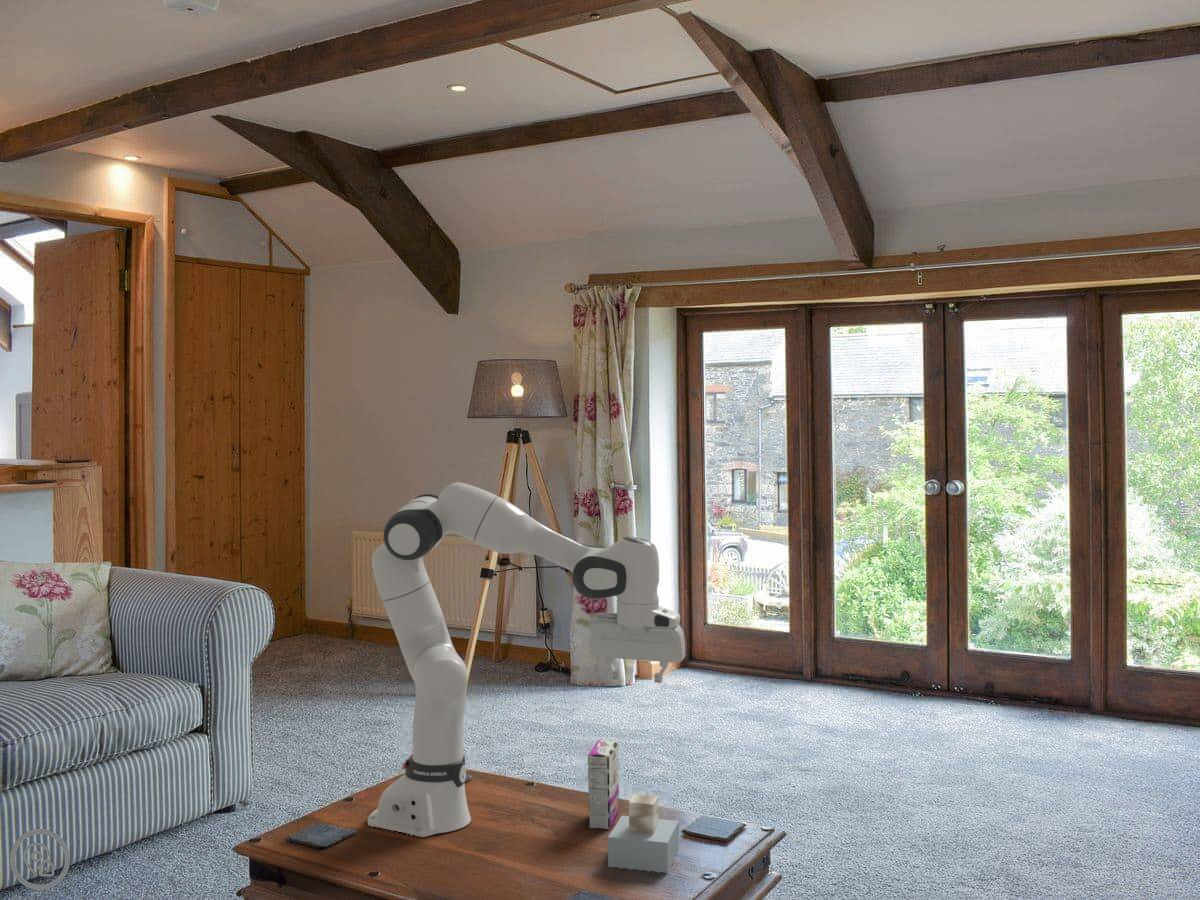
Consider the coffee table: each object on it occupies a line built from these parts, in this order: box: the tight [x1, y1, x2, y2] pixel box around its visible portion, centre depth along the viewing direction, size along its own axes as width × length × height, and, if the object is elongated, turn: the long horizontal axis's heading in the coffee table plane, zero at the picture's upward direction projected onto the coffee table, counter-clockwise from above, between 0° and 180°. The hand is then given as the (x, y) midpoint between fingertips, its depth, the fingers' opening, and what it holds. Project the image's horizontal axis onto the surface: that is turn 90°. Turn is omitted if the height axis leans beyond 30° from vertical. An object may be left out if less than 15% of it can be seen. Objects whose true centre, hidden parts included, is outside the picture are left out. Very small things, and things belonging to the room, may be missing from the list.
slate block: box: [607, 815, 680, 874], centre depth 219 cm, size 12×12×6 cm
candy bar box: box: [587, 739, 620, 831], centre depth 240 cm, size 11×5×16 cm, turn 168°
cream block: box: [628, 793, 660, 834], centre depth 219 cm, size 5×5×6 cm
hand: (636, 680), depth 228 cm, fingers open, 8 cm apart
